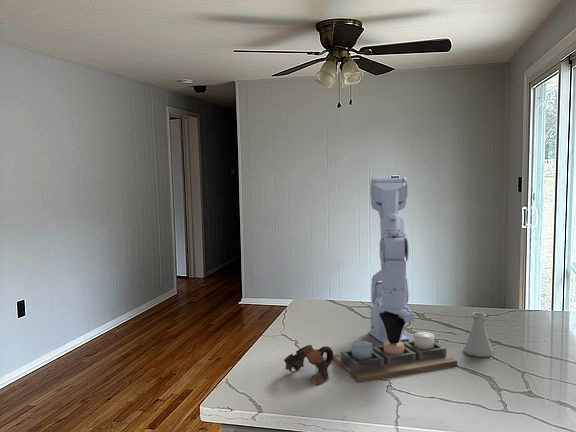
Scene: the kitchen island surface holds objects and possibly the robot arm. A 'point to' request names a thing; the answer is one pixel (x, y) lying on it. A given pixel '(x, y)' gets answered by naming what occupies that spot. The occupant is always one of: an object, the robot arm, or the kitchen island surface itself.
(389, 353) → the terracotta key
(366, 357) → the pale blue dome
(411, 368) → the three-slot key tray
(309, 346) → the brown animal figure
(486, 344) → the flask
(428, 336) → the cream rounded piece
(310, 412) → the kitchen island surface
